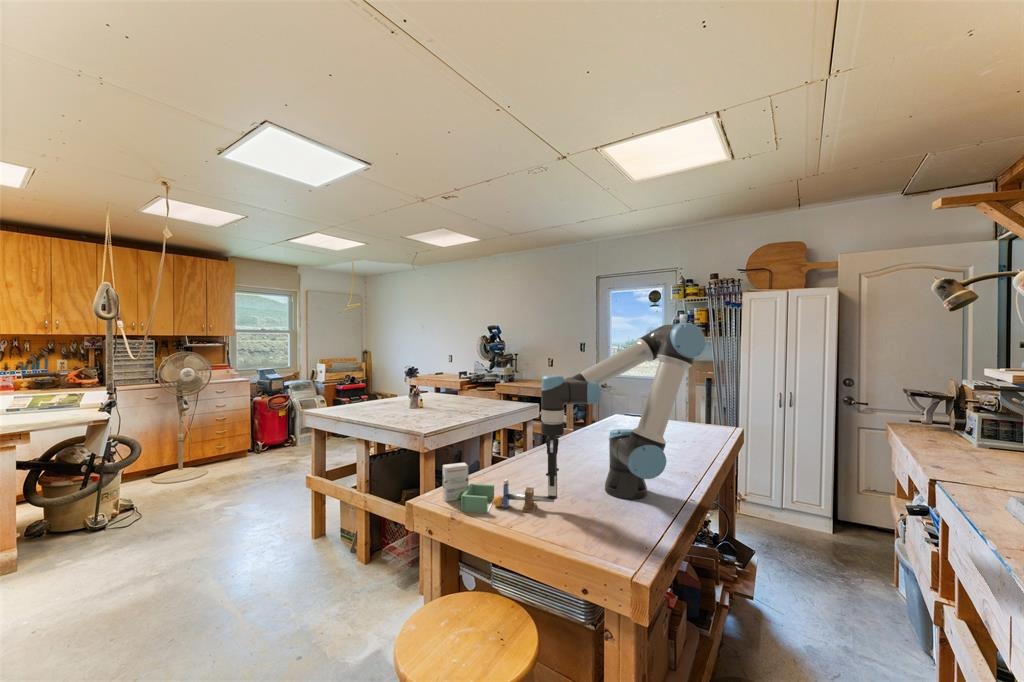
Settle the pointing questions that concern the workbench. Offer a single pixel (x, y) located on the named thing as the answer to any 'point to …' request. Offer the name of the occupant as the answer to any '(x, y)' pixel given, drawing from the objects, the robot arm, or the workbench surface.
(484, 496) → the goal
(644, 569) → the workbench surface
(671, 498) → the workbench surface
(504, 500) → the u-shaped post frame
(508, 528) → the workbench surface
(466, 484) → the ink box
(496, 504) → the ball
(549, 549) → the workbench surface
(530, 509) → the bearing block
